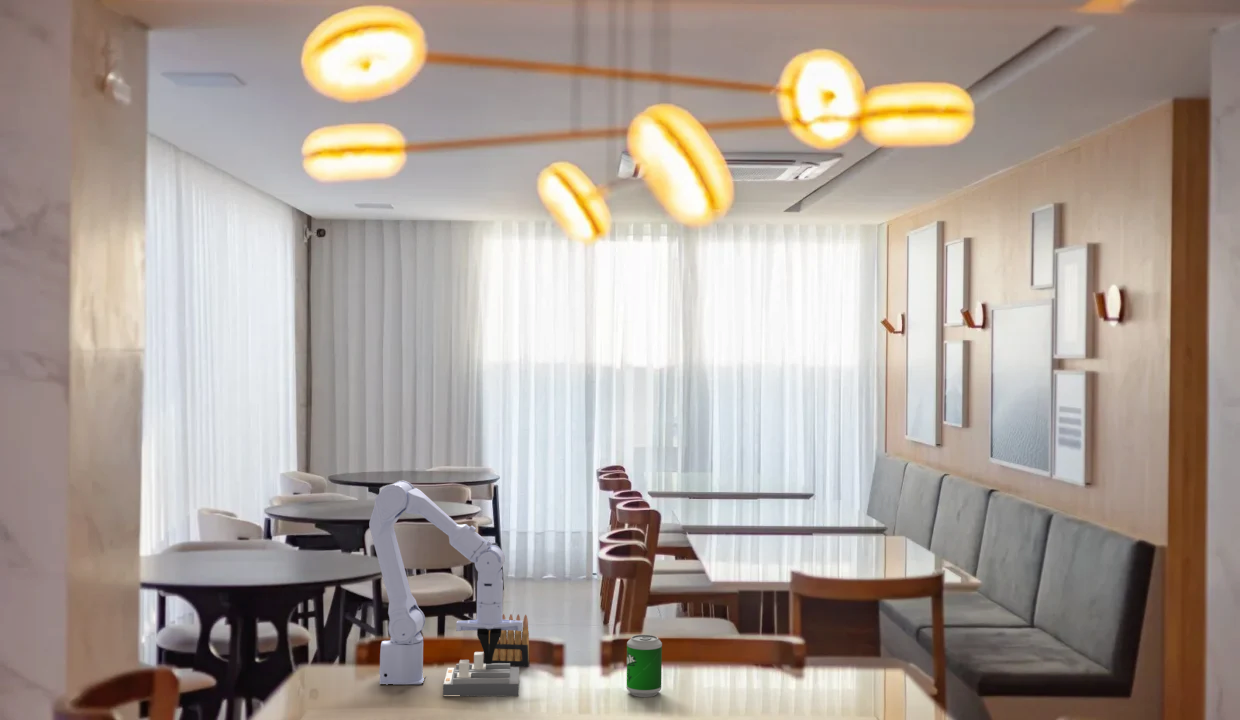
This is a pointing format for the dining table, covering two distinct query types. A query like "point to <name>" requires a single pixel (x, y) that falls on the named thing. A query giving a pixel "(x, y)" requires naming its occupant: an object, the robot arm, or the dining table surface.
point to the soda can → (644, 665)
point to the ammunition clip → (512, 646)
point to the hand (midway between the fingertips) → (488, 663)
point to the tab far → (479, 661)
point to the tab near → (464, 669)
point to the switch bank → (483, 681)
